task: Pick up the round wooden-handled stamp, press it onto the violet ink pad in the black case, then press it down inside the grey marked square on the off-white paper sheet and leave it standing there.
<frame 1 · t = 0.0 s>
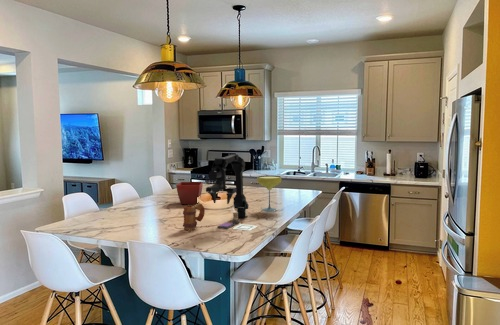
hand: (221, 203, 226), 15 cm above the kitchen island, fingers open, 9 cm apart
stamp: (235, 223, 236), on the kitchen island
sheet: (245, 227, 226), on the kitchen island
plant pot: (190, 203, 307), on the kitchen island
mug: (193, 229, 224), on the kitchen island
ink pad: (226, 226, 229), on the kitchen island
cocktail glass: (269, 210, 277), on the kitchen island
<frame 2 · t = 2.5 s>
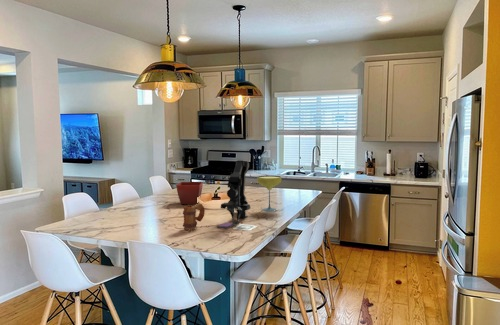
hand: (235, 219, 236), 3 cm above the kitchen island, fingers closed on stamp, 3 cm apart
stamp: (235, 223, 236), on the kitchen island, touching gripper
everything else where it was.
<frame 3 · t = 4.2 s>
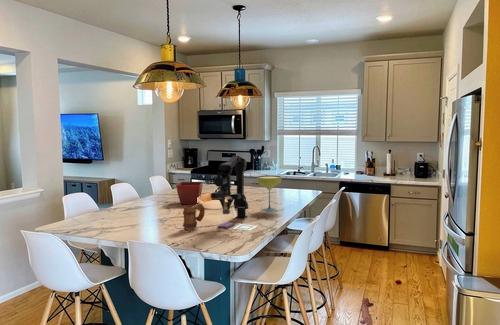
hand: (226, 209, 228), 11 cm above the kitchen island, fingers closed on stamp, 3 cm apart
stamp: (226, 213, 228), point 8 cm above the kitchen island, touching gripper
everything else where it was.
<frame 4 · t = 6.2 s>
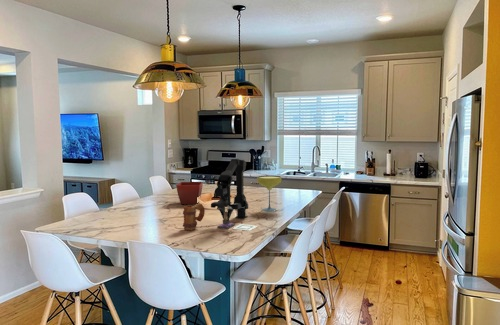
hand: (226, 219, 228), 5 cm above the kitchen island, fingers closed on stamp, 3 cm apart
stamp: (226, 223, 228), point 2 cm above the kitchen island, touching gripper
everything else where it was.
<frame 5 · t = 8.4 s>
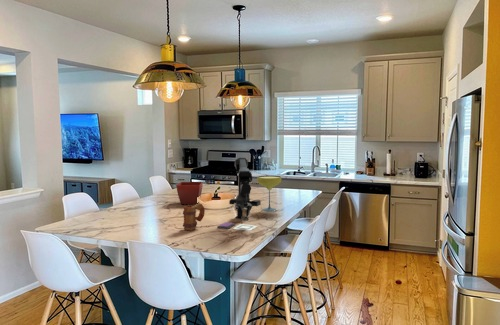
hand: (245, 216, 225), 7 cm above the kitchen island, fingers closed on stamp, 3 cm apart
stamp: (245, 220, 225), point 5 cm above the kitchen island, touching gripper
everything else where it was.
when the fingers open (3 cm above the kitchen island, at t = 10.4 s): stamp stays where it is, resting on sheet.
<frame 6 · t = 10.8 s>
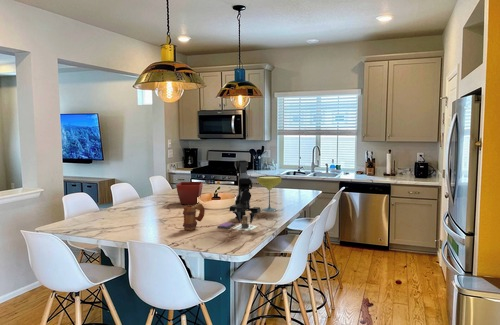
hand: (245, 223, 225), 3 cm above the kitchen island, fingers open, 7 cm apart
stamp: (245, 227, 226), resting on sheet
everything else where it was.
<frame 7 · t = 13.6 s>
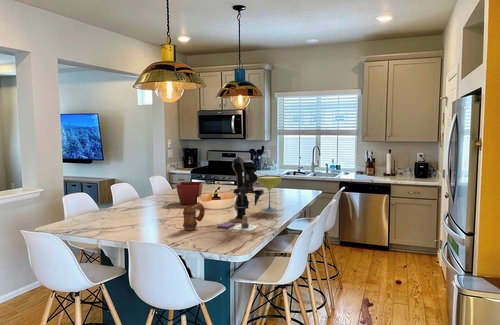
hand: (248, 205, 235), 12 cm above the kitchen island, fingers open, 9 cm apart
nothing on the kitchen island moved.
at the end: stamp inside the target area on the sheet (0.1 cm from its centre), point 0.2 cm above the sheet's base; stamp tilted 0°; the gripper is holding nothing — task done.
